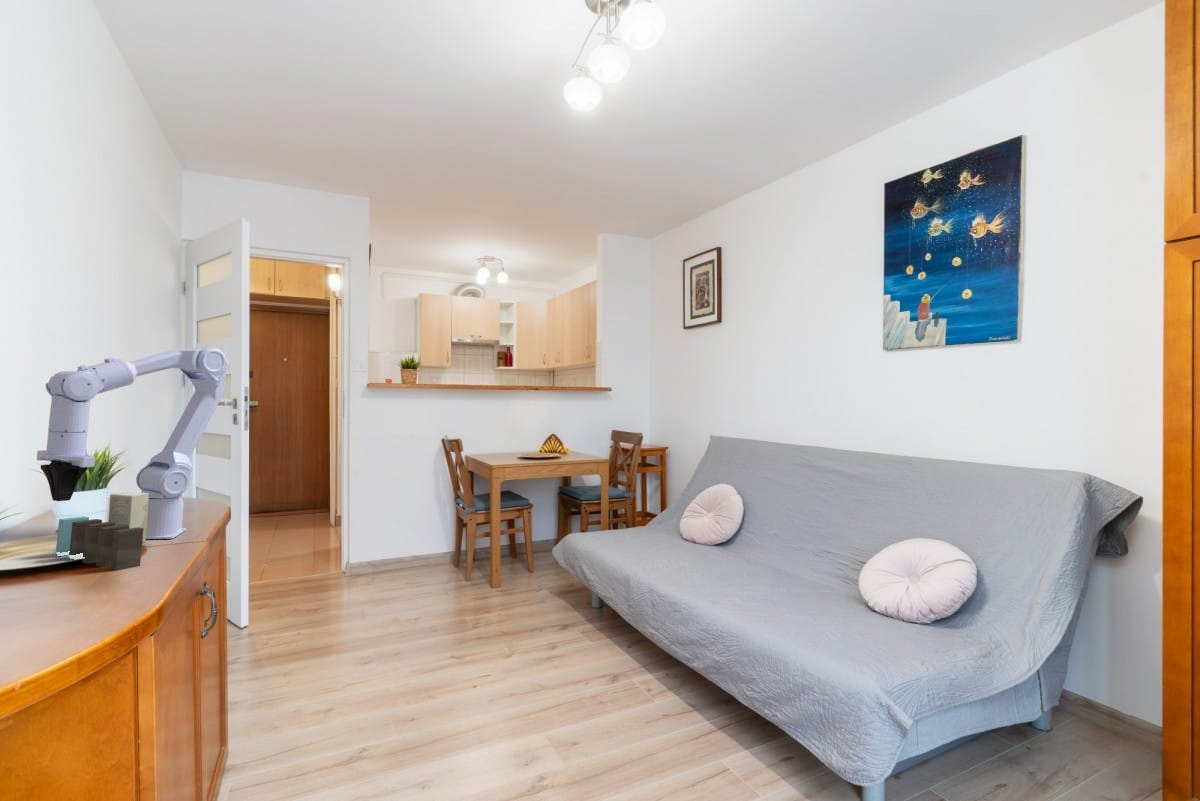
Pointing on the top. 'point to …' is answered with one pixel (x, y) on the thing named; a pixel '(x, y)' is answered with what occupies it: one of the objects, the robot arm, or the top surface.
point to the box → (129, 510)
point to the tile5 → (126, 548)
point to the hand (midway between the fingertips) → (61, 500)
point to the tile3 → (92, 541)
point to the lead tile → (66, 533)
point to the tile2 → (79, 535)
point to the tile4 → (106, 544)
